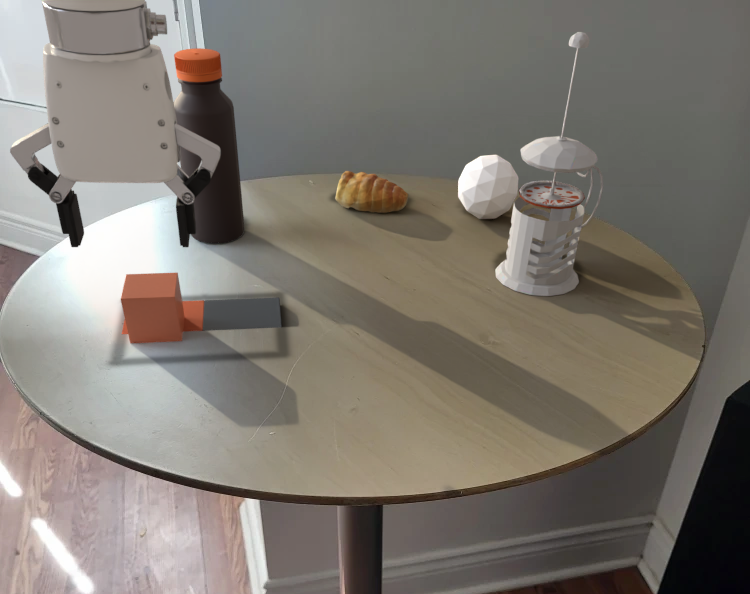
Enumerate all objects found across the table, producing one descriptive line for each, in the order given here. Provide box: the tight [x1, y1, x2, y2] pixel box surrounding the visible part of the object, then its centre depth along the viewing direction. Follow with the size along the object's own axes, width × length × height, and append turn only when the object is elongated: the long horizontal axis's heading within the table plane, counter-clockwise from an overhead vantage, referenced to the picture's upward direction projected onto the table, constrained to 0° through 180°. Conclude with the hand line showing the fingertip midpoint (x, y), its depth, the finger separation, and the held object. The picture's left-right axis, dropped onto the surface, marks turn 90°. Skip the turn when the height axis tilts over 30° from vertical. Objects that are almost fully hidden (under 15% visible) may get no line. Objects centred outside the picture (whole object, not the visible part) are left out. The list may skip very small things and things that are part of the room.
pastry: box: [334, 170, 409, 214], centre depth 104 cm, size 9×7×4 cm
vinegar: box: [173, 47, 246, 245], centre depth 90 cm, size 7×7×20 cm
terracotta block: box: [120, 272, 185, 344], centre depth 77 cm, size 5×5×5 cm
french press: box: [494, 31, 604, 297], centre depth 83 cm, size 10×12×25 cm
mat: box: [121, 297, 283, 335], centre depth 79 cm, size 16×12×1 cm
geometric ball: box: [457, 154, 519, 220], centre depth 101 cm, size 8×8×8 cm
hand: (132, 240), depth 72 cm, fingers open, 9 cm apart
